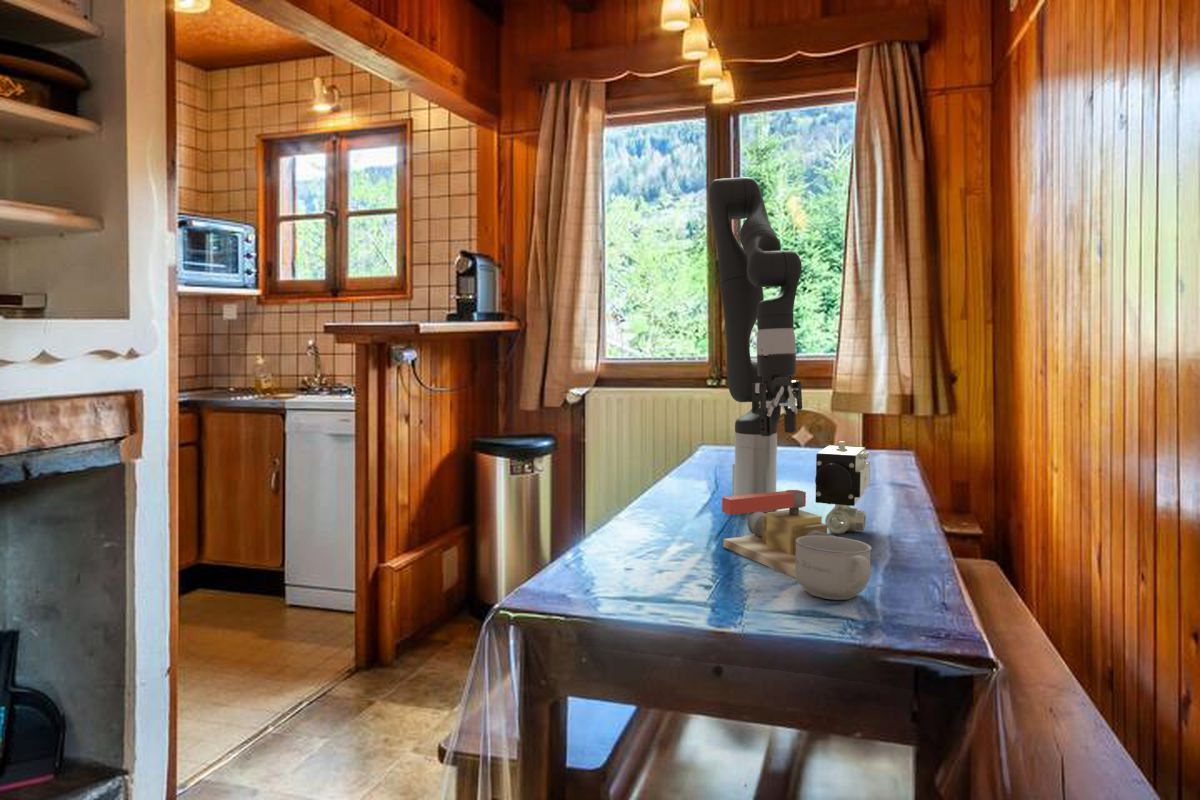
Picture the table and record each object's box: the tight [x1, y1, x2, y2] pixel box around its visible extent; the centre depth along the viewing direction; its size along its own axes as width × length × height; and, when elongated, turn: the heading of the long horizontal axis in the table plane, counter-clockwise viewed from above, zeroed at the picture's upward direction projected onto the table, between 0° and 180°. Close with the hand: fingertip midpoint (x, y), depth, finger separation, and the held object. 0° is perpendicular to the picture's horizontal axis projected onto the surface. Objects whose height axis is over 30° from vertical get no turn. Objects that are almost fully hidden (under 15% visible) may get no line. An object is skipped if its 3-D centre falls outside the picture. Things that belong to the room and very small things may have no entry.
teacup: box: [795, 535, 873, 601], centre depth 114 cm, size 14×11×8 cm
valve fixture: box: [722, 508, 837, 579], centre depth 136 cm, size 21×15×9 cm
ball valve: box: [814, 440, 871, 535], centre depth 154 cm, size 18×8×18 cm, turn 154°
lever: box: [721, 489, 807, 516], centre depth 133 cm, size 16×3×2 cm, turn 114°
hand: (778, 434), depth 154 cm, fingers open, 8 cm apart
